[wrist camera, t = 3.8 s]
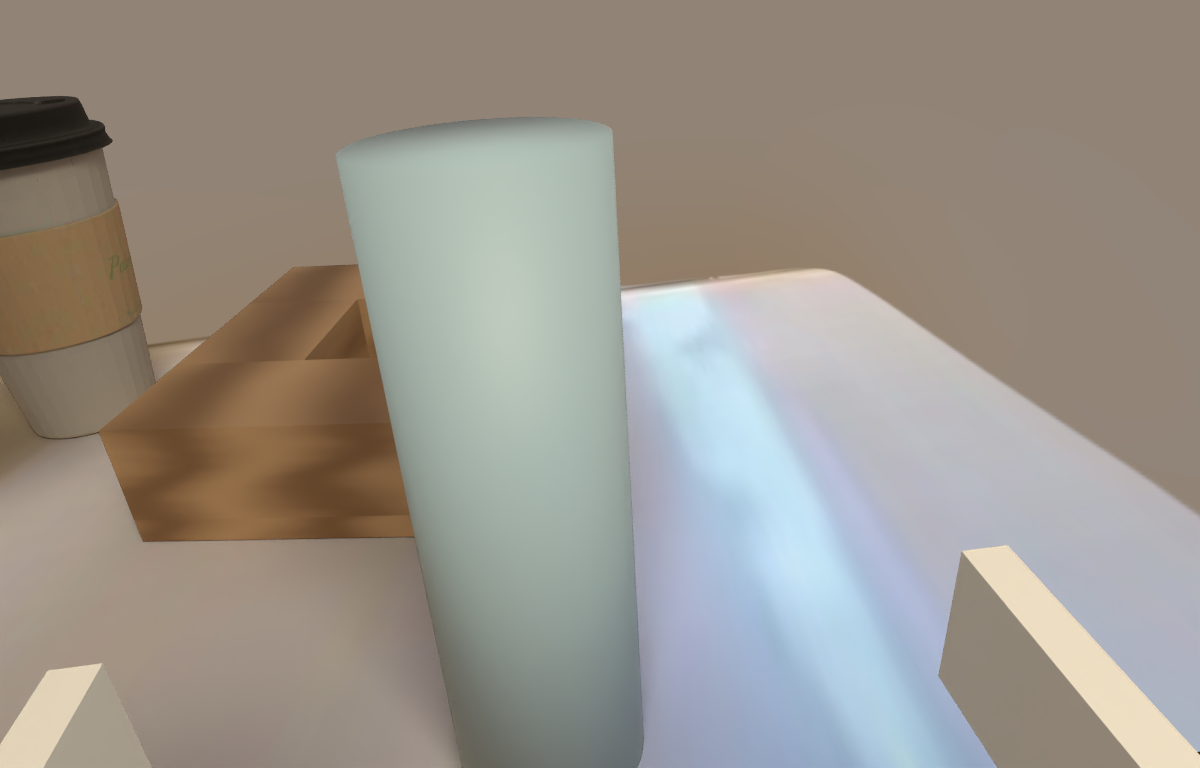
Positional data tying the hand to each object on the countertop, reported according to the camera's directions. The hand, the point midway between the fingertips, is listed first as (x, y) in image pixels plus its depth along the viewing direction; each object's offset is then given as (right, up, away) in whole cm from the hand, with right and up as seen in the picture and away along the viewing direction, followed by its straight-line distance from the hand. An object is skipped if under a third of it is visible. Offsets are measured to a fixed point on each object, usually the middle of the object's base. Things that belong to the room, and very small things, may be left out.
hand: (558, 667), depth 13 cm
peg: (-1, -5, +9) cm, 11 cm away
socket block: (-8, +3, +26) cm, 27 cm away
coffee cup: (-26, +3, +29) cm, 39 cm away
